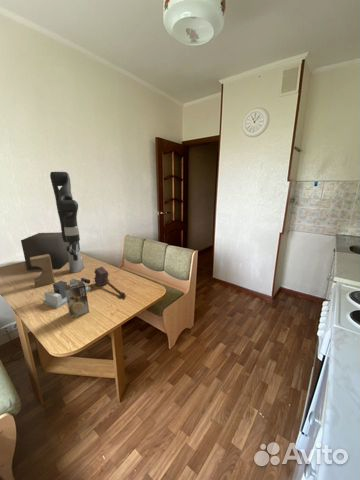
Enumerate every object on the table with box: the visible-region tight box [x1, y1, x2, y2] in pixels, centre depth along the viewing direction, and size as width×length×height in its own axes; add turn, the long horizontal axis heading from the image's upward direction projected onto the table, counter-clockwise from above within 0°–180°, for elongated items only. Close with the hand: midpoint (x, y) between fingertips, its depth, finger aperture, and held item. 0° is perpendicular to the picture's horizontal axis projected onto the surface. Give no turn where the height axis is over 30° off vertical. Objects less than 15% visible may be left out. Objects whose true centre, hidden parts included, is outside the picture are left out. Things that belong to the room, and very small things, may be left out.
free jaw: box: [69, 277, 91, 287], centre depth 130 cm, size 8×11×5 cm
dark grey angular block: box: [20, 231, 69, 271], centre depth 171 cm, size 25×25×25 cm
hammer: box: [93, 266, 127, 299], centre depth 130 cm, size 7×33×10 cm, turn 48°
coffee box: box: [64, 280, 90, 319], centre depth 105 cm, size 9×6×16 cm
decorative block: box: [29, 254, 56, 289], centre depth 136 cm, size 11×6×20 cm, turn 130°
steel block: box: [52, 280, 68, 299], centre depth 118 cm, size 5×5×9 cm
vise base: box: [42, 285, 91, 309], centre depth 122 cm, size 23×12×6 cm, turn 156°
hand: (76, 260), depth 126 cm, fingers closed
